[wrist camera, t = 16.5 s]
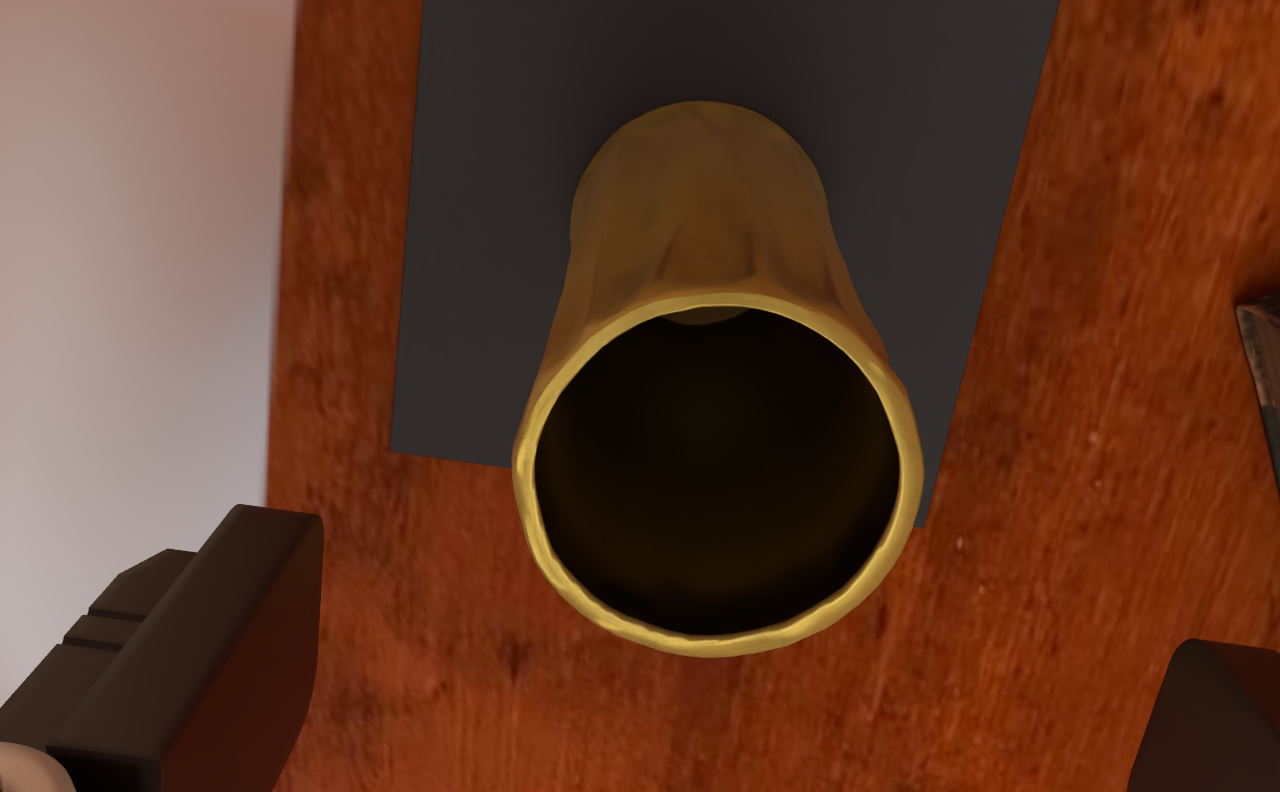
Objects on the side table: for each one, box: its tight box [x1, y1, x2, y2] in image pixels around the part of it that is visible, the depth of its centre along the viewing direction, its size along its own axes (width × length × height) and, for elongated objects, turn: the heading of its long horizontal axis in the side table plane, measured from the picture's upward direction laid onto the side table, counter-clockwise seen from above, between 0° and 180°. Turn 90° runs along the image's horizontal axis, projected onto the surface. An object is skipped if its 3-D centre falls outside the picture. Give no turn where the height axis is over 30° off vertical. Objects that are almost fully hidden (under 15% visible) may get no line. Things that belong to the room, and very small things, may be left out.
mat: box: [390, 0, 1060, 528], centre depth 28 cm, size 14×14×1 cm
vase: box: [512, 101, 925, 658], centre depth 22 cm, size 6×6×14 cm
